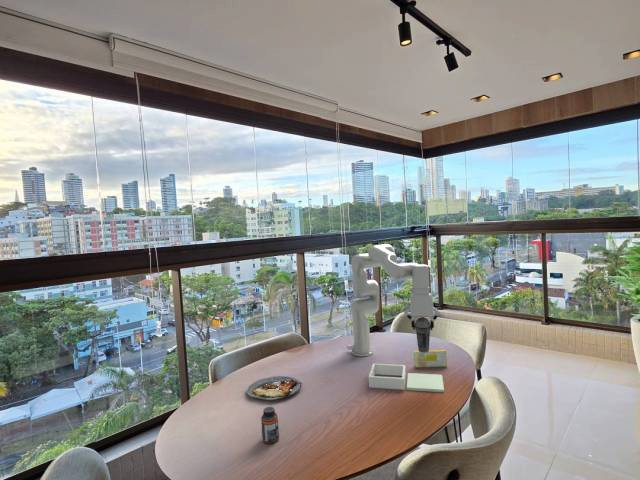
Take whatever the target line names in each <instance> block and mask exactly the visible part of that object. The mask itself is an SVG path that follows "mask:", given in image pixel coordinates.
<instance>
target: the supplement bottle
mask: <svg viewBox="0 0 640 480" xmlns="http://www.w3.org/2000/svg"><path fill="white" fill-rule="evenodd" d="M275 409H276V408H275V407H274V406H267V407H265V408H263V413H262V415H261V417H260V419H261V422H260V423H261V435H262V436H261V438H262V442H263V443H264V444H267V445H271V444H275V443H277V442H278V441H279V439H280V430H279V416H278V414H277V412H276V410H275Z"/></svg>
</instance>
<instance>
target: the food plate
mask: <svg viewBox="0 0 640 480" xmlns="http://www.w3.org/2000/svg"><path fill="white" fill-rule="evenodd" d="M279 381H280V382H281V383H280V384H279V386H277V385H278V384H276V385H275V384H273V383H274V382H279ZM285 381H286V382H285ZM287 382H289V383H287ZM269 383H271V384H269ZM266 384H267V385H266ZM260 387H261V388H260ZM278 387H279V390H282V391H279V390H266V389H264V388H267V389H276V388H278ZM259 388H260V389H259ZM301 388H302V382H301V381H300V380H299V379H298V378H297V379H296V378H295V377H290V376H283V375H282V376H281V375H275V376H270V377H269V376H268V377H264V378H260V379H258V380H255V381H254V382H252V383H251V384H250V385H249V386H247V388H246V393H247V395H248V396H250V397H251V398H256V399H262V400H268V401H277V400H280V399H285V398H288V397H291V396H292V395H294V394H296V393H297V392H298V391H300V390H301ZM290 389H292V391H290Z"/></svg>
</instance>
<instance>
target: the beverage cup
mask: <svg viewBox="0 0 640 480" xmlns="http://www.w3.org/2000/svg"><path fill="white" fill-rule="evenodd" d="M414 330H415V331H416V343H417V348H418V351H419V352H423V353H426V352H429V351H430V338H431V337H430V336H431V324H430V321H429V319H427V318H426V317H419V318H417V319H416V321H415V329H414Z"/></svg>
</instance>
